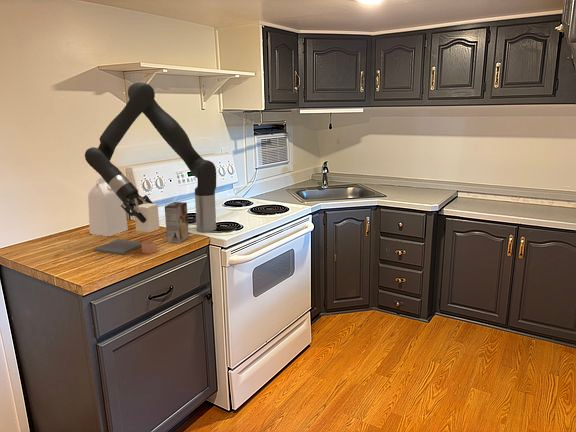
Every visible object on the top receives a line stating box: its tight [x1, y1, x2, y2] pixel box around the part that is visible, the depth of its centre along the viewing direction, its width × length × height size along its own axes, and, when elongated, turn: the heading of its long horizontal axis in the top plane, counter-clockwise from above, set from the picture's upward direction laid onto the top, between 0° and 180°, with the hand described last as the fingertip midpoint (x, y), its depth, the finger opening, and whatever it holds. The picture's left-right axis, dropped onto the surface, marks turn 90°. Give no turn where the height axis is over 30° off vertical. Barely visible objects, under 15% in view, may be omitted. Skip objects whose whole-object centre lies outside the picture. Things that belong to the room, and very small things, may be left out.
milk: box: [87, 176, 129, 237], centre depth 203 cm, size 12×12×26 cm
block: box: [141, 240, 157, 255], centre depth 178 cm, size 4×4×4 cm
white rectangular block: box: [134, 203, 160, 233], centre depth 175 cm, size 6×6×10 cm
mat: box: [94, 238, 145, 256], centre depth 183 cm, size 14×14×1 cm
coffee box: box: [164, 201, 190, 244], centre depth 193 cm, size 9×6×16 cm
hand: (150, 219), depth 175 cm, fingers closed on white rectangular block, 6 cm apart
